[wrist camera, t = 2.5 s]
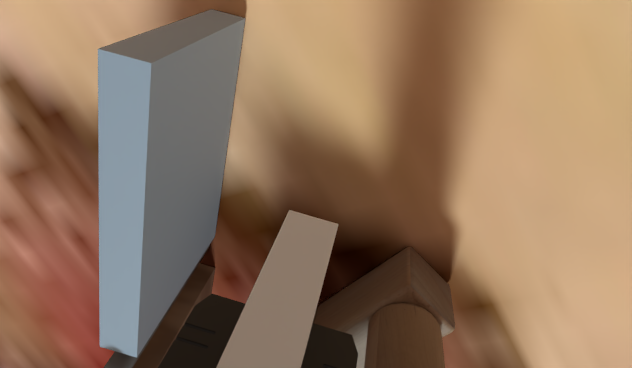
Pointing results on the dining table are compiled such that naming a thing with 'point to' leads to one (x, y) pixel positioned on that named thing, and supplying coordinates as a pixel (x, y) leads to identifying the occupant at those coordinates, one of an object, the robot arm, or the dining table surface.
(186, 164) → the door
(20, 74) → the dining table surface
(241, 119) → the dining table surface
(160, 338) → the notched wooden plank
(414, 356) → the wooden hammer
